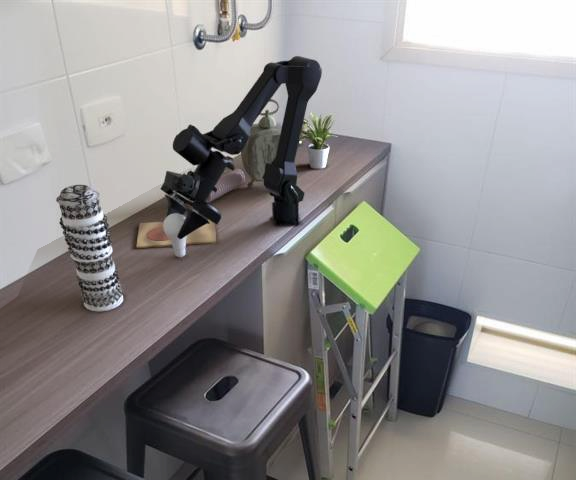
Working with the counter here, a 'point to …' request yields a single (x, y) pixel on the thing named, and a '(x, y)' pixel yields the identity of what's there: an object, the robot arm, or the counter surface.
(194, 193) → the robot arm
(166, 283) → the counter surface
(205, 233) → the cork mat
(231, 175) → the coil
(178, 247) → the lightbulb
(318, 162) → the house plant
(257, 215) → the counter surface
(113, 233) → the counter surface
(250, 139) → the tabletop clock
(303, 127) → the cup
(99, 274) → the white patterned tall cylinder
